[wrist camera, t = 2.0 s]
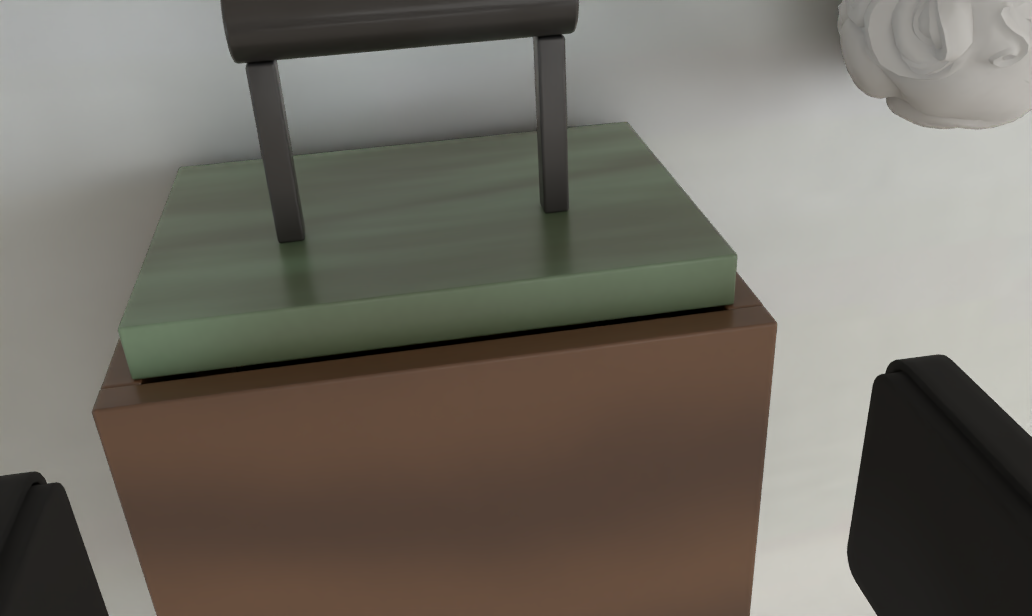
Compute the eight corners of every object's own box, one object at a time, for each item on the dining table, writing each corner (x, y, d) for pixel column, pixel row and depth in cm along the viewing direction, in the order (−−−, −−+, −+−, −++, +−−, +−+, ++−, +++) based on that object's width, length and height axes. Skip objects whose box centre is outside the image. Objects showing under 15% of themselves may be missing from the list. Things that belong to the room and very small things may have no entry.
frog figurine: (920, -205, 26) (1100, -196, 20) (1030, -4, 29) (1214, 56, 23) (737, -39, 27) (853, 17, 21) (862, 135, 30) (994, 227, 24)
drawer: (128, -53, 24) (30, 34, 16) (629, -91, 25) (758, -29, 17) (280, 608, 34) (266, 847, 27) (624, 555, 36) (702, 767, 28)
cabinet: (170, 197, 28) (89, 411, 18) (639, 148, 29) (778, 322, 20) (275, 637, 36) (257, 932, 27) (633, 581, 38) (728, 841, 29)
